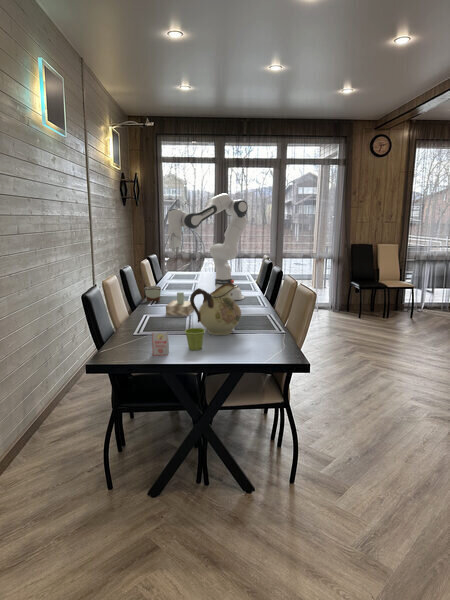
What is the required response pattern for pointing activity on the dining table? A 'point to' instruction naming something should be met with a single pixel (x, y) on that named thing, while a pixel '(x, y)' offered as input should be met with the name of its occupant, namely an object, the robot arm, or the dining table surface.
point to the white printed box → (160, 344)
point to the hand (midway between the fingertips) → (175, 253)
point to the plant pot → (195, 338)
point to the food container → (152, 293)
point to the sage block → (180, 297)
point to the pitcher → (218, 310)
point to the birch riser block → (179, 308)
